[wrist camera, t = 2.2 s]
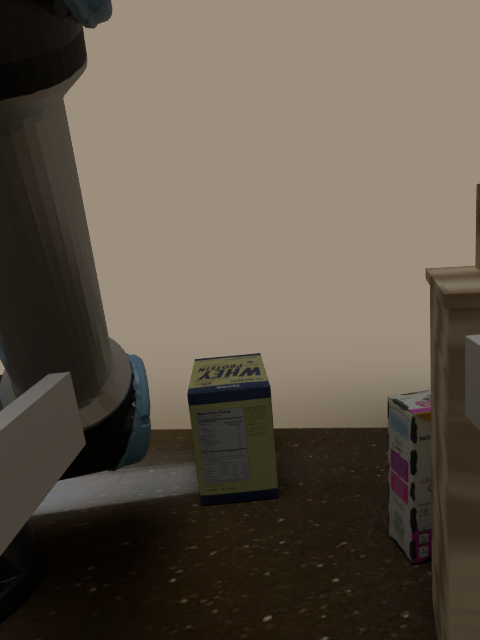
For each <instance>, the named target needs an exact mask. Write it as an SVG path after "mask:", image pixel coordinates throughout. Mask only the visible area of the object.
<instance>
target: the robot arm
mask: <svg viewBox="0 0 480 640" xmlns="http://www.w3.org/2000/svg"><path fill="white" fill-rule="evenodd" d="M111 15H112V4H111V0H0V360H1V362H2V363H3V365H4V367H5V371H4V373H3V375H0V621H1V620H2V619H4V618H5V617H6V616H8V615H9V614H10V613H11V612H13V611H14V610H15V609H16V608H17V607H18V606H19V605H20V604H21V603H23V601H24V600H25V599H26V598H27V597H28V596H29V595H30V594H31V592H32V591H33V590H34V589H35V587H36V586H37V584H38V582H39V581H40V579H41V577H42V574H43V571H44V568H45V556H44V551H43V546H42V542H41V539H40V536H39V535H38V533H37V532H36V530H35V529H34V527H33V526H32V524H31V523H30V521H29V520H28V519H29V518H30V517H31V515H32V514H33V513H34V511H35V510H36V509H37V507H38V506H39V505H40V503H41V502H42V501H43V500H44V498H45V497H46V496H47V494H48V493H49V492H50V490H51V489H52V488H53V486H54V485H55V484H56V483H57V481H59V480H64V479H69V478H74V477H78V476H83V475H88V474H93V473H97V472H102V471H107V470H108V471H116V470H117V469H120V468H121V467H124V466H127V465H131V464H135V463H138V462H139V461H141V460H142V459H143V458H144V457H145V456H146V454H147V452H148V449H149V445H150V435H151V423H150V418H149V416H150V398H149V389H148V381H147V376H146V371H145V367H144V363H143V361H142V360H141V358H140V357H138V356H136V355H128V354H126V353H125V351H124V350H123V349H122V347H121V346H120V345H119V344H118V343H116V342H115V341H114V340H112V339H111V338H109V337H108V332H107V326H106V321H105V316H104V310H103V305H102V300H101V295H100V289H99V284H98V279H97V274H96V268H95V263H94V258H93V253H92V247H91V242H90V237H89V231H88V226H87V221H86V216H85V211H84V205H83V200H82V195H81V189H80V184H79V179H78V174H77V168H76V164H75V158H74V153H73V147H72V142H71V137H70V133H69V126H68V121H67V116H66V111H65V106H64V101H63V97H64V95H65V94H66V93H67V91H68V90H69V89H70V88H71V87H72V86H73V84H74V83H75V82H76V81H77V80H78V79H79V77H80V76H81V75H82V74H83V72H84V70H85V69H86V67H87V54H86V47H85V40H84V32H83V26H85V27H86V28H95V27H96V26H97V25H98V24H99V23H102V22H105V21H108V19H109V18H110V17H111ZM465 415H466V417H467V418H468V419H469V420H470V421H471V422H472V423H473V424H474V425H475V426H476V427H477V428H478V429H479V431H480V335H469V336H465Z"/></svg>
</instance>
